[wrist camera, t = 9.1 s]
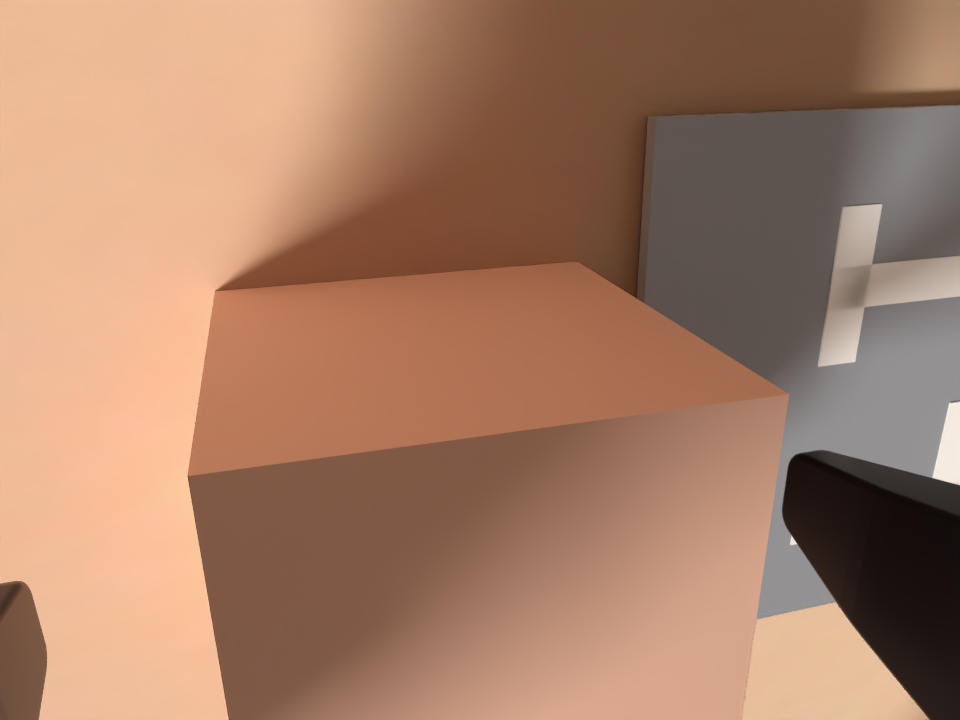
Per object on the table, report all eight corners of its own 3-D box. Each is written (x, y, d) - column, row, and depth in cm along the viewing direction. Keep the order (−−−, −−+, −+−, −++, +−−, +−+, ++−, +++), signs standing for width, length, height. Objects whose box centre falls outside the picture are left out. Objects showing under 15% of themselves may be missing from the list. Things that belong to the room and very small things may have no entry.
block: (565, 549, 13) (729, 806, 9) (259, 604, 12) (265, 933, 7) (575, 260, 11) (788, 394, 7) (215, 289, 10) (187, 474, 6)
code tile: (1052, 545, 16) (1064, 553, 16) (616, 639, 14) (622, 649, 14) (1187, 95, 13) (1206, 96, 13) (647, 116, 11) (657, 118, 10)
